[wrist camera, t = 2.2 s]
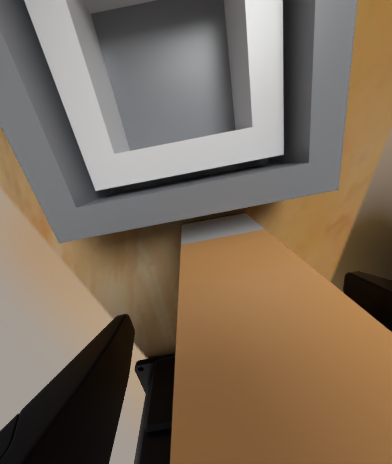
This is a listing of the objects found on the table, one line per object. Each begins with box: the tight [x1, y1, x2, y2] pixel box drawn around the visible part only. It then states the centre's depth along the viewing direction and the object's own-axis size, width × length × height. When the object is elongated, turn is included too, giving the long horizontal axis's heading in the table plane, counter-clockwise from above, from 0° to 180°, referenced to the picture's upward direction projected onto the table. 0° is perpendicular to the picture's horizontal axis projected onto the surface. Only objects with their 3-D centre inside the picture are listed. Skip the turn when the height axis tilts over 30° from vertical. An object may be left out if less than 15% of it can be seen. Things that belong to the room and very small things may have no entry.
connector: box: [170, 213, 392, 464], centre depth 7 cm, size 4×4×10 cm
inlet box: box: [0, 0, 358, 243], centre depth 7 cm, size 11×11×4 cm
